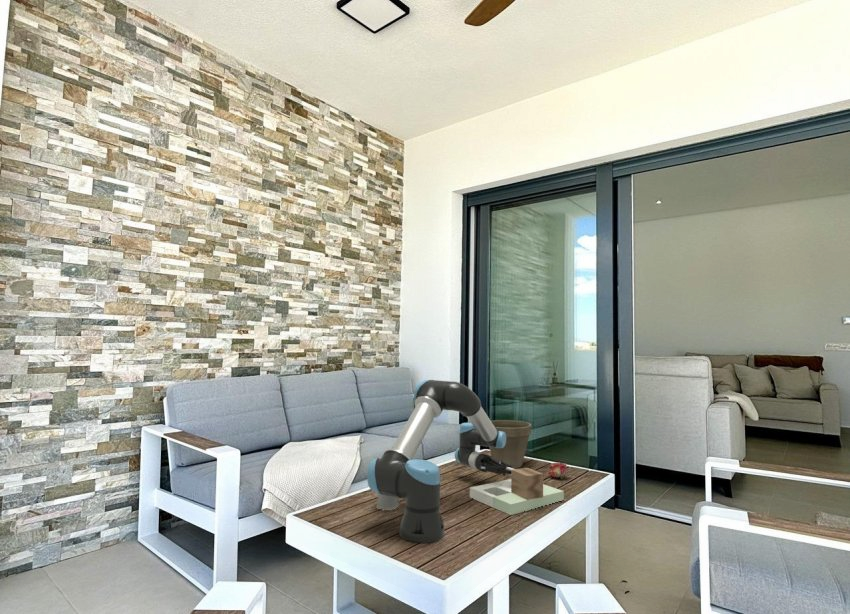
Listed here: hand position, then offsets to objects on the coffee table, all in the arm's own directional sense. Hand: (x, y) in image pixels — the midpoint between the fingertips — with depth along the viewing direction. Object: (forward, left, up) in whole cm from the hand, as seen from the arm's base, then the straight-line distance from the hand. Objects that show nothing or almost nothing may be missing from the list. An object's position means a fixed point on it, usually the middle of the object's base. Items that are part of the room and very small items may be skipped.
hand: (518, 474), depth 200 cm
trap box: (0, +1, -10) cm, 10 cm away
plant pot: (+35, +42, -10) cm, 56 cm away
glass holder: (-47, +20, -10) cm, 52 cm away
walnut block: (-2, -7, -6) cm, 9 cm away
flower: (+39, +12, -10) cm, 42 cm away
